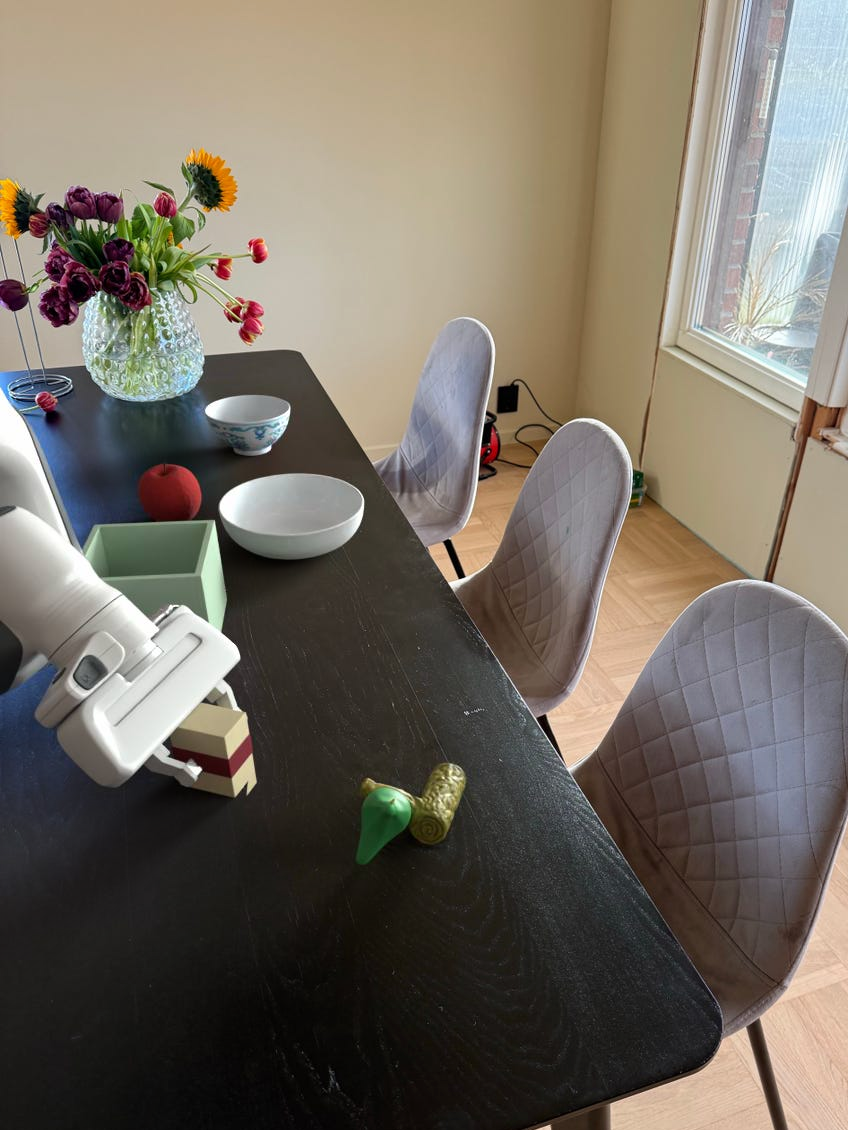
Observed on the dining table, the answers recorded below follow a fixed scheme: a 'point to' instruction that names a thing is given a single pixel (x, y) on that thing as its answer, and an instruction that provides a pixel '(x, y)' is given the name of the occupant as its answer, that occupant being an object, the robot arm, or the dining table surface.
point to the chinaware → (249, 422)
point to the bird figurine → (409, 810)
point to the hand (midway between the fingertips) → (219, 752)
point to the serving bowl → (292, 515)
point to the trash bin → (162, 565)
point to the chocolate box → (216, 748)
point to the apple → (169, 493)
